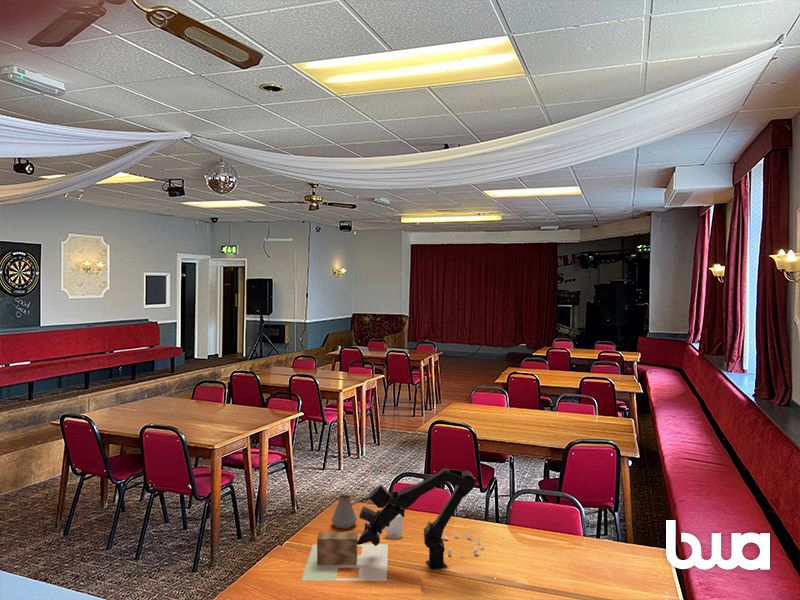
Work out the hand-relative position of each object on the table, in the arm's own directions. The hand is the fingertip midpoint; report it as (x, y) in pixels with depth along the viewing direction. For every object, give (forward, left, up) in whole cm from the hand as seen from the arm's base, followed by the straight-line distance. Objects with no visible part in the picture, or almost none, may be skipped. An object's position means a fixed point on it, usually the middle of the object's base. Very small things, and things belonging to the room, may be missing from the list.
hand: (357, 543), depth 226 cm
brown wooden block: (+2, +7, -7) cm, 10 cm away
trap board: (+1, +4, -8) cm, 9 cm away
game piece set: (+3, -44, -9) cm, 45 cm away
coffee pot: (+36, -7, -9) cm, 38 cm away
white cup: (+21, -21, -9) cm, 31 cm away
